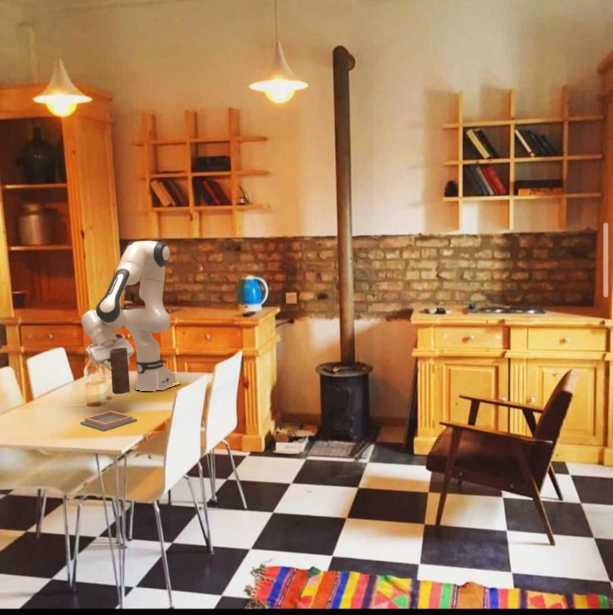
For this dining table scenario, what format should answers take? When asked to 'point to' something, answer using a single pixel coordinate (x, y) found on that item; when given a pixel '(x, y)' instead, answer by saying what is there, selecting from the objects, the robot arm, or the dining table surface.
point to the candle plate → (108, 420)
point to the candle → (120, 371)
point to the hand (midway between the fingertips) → (120, 367)
